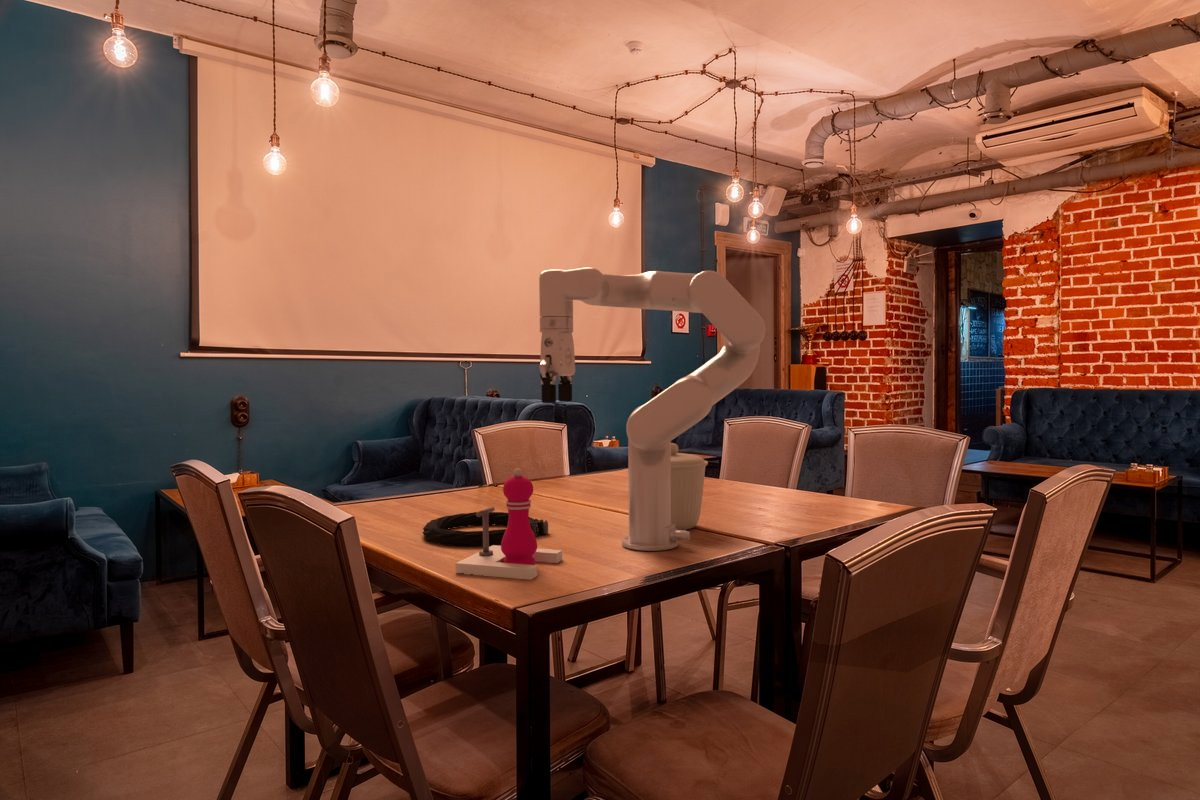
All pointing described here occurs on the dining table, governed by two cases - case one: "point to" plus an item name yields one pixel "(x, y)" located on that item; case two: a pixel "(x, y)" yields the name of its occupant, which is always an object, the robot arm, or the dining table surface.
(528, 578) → the u-shaped stand
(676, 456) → the canister
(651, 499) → the robot arm
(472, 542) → the cable lock
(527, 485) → the pepper mill
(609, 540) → the dining table surface
